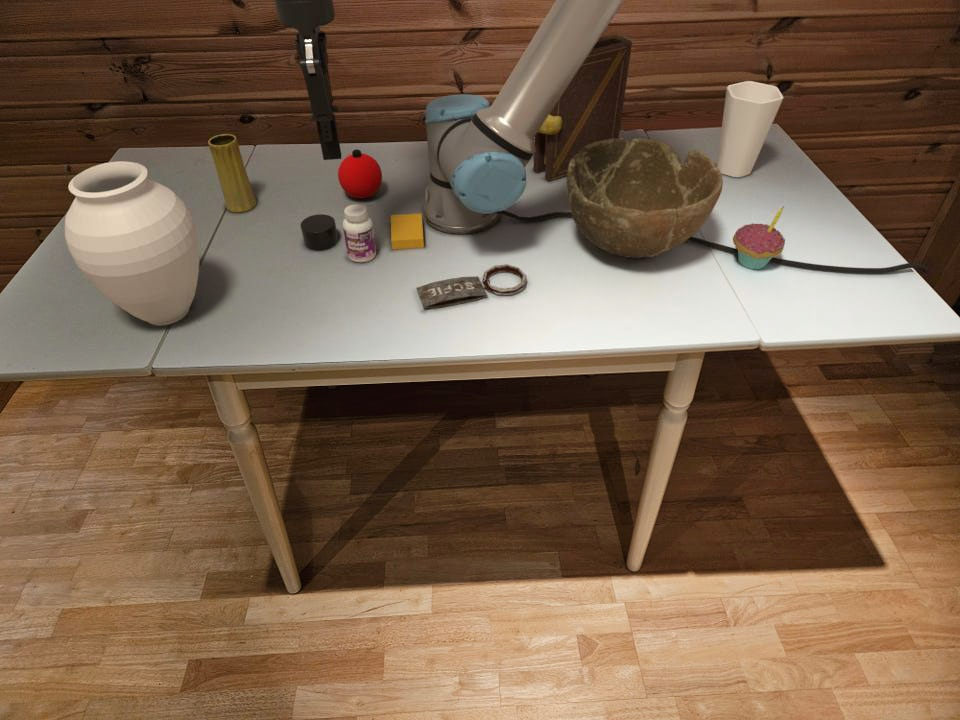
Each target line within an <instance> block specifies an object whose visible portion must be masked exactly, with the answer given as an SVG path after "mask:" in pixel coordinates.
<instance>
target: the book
mask: <svg viewBox="0 0 960 720" xmlns="http://www.w3.org/2000/svg"><path fill="white" fill-rule="evenodd" d="M632 44H633V41H632V40H630V39H629V38H626V37H624V36H621V35H616V34H611V35H604V36H601V37H600V38H599V40H598V41H597V43H596V44H595V46H594V47H593V49H592V50H591V52H590V53H589V55H588V56H587V58H586V59H585V61H584V62H583V64H582V65H581V67H580V68H579V70H578V71H577V73H576V74H575V76H574V77H573V79H572V80H571V82H570V84H569V85H568V87H567V88H566V90H565V91H564V93H563V94H562V96H561V97H560V99H559V100H558V102H557V103H556V105H555V106H554V108H553V109H552V111H551V112H550V114H549V115H548V117H547V118H546V120H545V121H544V123H543V124H542V126H541V127H540V129H539V130H538V132H537V133H536V135H535V137H534V143H535V153H534V154H533V167H532V168H533V169H532V171H533V172H534V173H535V174H539V173H542V172H544V180H545V181H546V182H554V181H556V180H559V179H562V178H563V179H564V178H565V177H566V178H567V172H568V165H569V162H570V160H571V159H572V158H573V157H574V156H575V155H576V154H578V153H579V150H581V149H582V148H583V147H585V146H587V145H589V144H591V143H593V142H598V141H602V140H608V139H613V138H619V139H620V133H621V132H620V131H621V125H622V118H623V111H624V103H625V96H626V88H627V83H628V82H627V81H628V75H629V74H628V73H629V68H630V67H629V66H630V61H631V52H632Z"/></svg>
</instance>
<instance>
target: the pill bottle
mask: <svg viewBox="0 0 960 720" xmlns="http://www.w3.org/2000/svg"><path fill="white" fill-rule="evenodd" d="M343 214H344V219H343V221H342V231H343V236H344V237H343V238H344V243H345V248H346V253H347V257H348V259H349V260H351V261H352V262H356V263H367V262H369V261H372V260H374V258H375V257H376V255H377V247H376V239H375V231H374V223H373V220H372V218H371V217H370V216H368V215H369V213H368V209H367V206H366V205H363V204H359V203H356V204H355V203H354V204H350V205H348V206H346V207H345V208H344V212H343Z"/></svg>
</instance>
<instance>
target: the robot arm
mask: <svg viewBox="0 0 960 720" xmlns="http://www.w3.org/2000/svg"><path fill="white" fill-rule="evenodd" d="M273 1H274V6H275V10H276V14H277V15H276V16H277V20H278V22H279V23H280V25H282V26H284V27H286V28H293V29H295V30H297V31H298V33H296V39H295V40H294V42H295V49H296V53H297V55H298V56H299V67H300V68H301V71H302V74H303V79H304V82H305V87H306V91H307V96H308V100H309V104H310V108H311V112H312V114H310V117H309V119H310V122H315V123H316V129H317V134H318V138H319V144H320V149H321V153H322V159H323V161H330V160H331V161H332V160H342V150H341V144H340V138H339V132H338V126H337V121H336V115H335V113H339V106H338V105H334V104H333V103H334V100H335V99H334V96H333V91H332V85H331V77H330V71H329V56H328V49H327V45H328V39H327V38H328V37H327V33H326V31H324V30H323V29H322V30H321V26H322V27H323V26H326V25H328V24H330V23H331V22H333V21H334V19H335V17H336V13H335V7H334V5H335V4H334V0H273ZM624 2H625V0H555V1H554V2H553V4H552V6H551V8H549V11H548V12H547V14H546V16H545V18H544V19H543V21H542V23H541V24H540V26H539V27H538V29H537V30H536V32H535V34H534V35H533V37H532V39H531V41H530V42H529V43H528V45H527V47H526V49H525V50H524V52H523V54H522V55H521V57H520V59H519V60H518V61H517V63H516V65H515V67H514V68H513V69H512V71H511V73H510V74H509V76H508V78H507V80H506V81H505V83H504V85H502V88H501V89H500V91H499V93H498V94H497V96H496V97H495V99H494V101H493V103H492V104H490V102H489V100H488V99H487V98H485V97H483V96H480V95H476V94H467V93H466V94H452V95H445V96H441V97H438V98H435V99H433V100H432V101H430V102H429V103H428V104H427V105H426V108H425V119H424V123H425V129H426V142H427V153H428V154H427V155H428V167H429V183H428V186H426V187H425V191H424V195H425V197H424V200H423V206H422V210H423V211H422V212H423V219H424V221H425V222H426V224H428V226H429V227H431V228H433V229H435V230H437V231H440V232H443V233H446V234H452V235H453V234H455V235H466V234H474V233H479V232H482V231H483V230H486V229H488V228H490V227H492V226H493V225H494V224H495V223H496V222H497V221H498V219H499V217H500V215H502V216H504V217H508V218H511V219H514V220H516V221H520V222H537V221H542V220H547V219H551V218H559V217H563V218H564V217H566V218H567V217H568V218H573V216H572V213H571V211H555V212H548V213H544V214H539V215H533V216H522V215H518V214H516V213H514V212H510V211H507V209H509V208H510V207H512V206H514V204H515V203H517V202H518V200H520V198H521V197H522V196H523V194H524V191H525V189H526V186H527V181H528V180H527V170H526V166H527V165H528V163H529V162H530V161H531V159H532V157H534V153H535V135H536V133H537V132H538V130H539V129H540V127H541V126H542V124H543V123H544V121H545V120H546V118H547V117H548V115H549V114H550V112H551V111H552V109H553V108H554V106H555V105H556V103H557V102H558V100H559V99H560V97H561V96H562V94H563V93H564V91H565V90H566V88H567V87H568V85H569V84H570V82H571V80H572V79H573V77H574V76H575V74H576V73H577V71H578V70H579V68H580V67H581V65H582V64H583V62H584V61H585V59H586V58H587V56H588V55H589V53H590V52H591V50H592V49H593V47H594V46H595V44H596V43H597V41H598V40H599V38H600V37H602V35H603V34H604V32H605V31H606V29H607V28H608V26H609V25H610V23H611V21H612V20H613V18H614V17H615V16H616V14H617V13H618V11H619V9H621V7H622V5H623V3H624ZM686 241H688V242H692V243H694V244H697V245H702V246H705V247H710V248H713V249H716V250H720V251H723V252H727V253H731V254H734V255H738V250H737V249H736V247H732V246H728V245H724V244H720V243H717V242H713V241H709V240H705V239H703V238H699V237H695V236H691V237H690V238H689V239H687V240H686ZM768 263H774V264H778V265H784V266H790V267H795V268H803V269H810V270H817V271H825V272H827V271H828V272H839V273H848V274H849V273H850V274H852V273H854V274H887V273H893V272H894V273H895V272H898V271H903V270H907V269H918V270H920V271H921V272H923V273H924V274H931V271H930V268H928V266H926V265H925V264H922V263H920V262H908V263H907V262H906V263H902V264H897V265H892V266H888V267H850V266H836V265H826V264H816V263H809V262H804V261H803V262H802V261H796V260H790V259H784V258H779V257H772V258H771V259H770V261H769V262H768Z"/></svg>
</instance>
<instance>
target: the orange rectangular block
mask: <svg viewBox="0 0 960 720" xmlns="http://www.w3.org/2000/svg"><path fill="white" fill-rule="evenodd" d="M390 242H391V243H390V244H391V250H405V249H407V250H408V249H419V248H421V249H422V248H423V249H424V248H425V239H424V227H423V215H422V213H421V212H420V213H408V214H407V213H406V214H392V215H390Z"/></svg>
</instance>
